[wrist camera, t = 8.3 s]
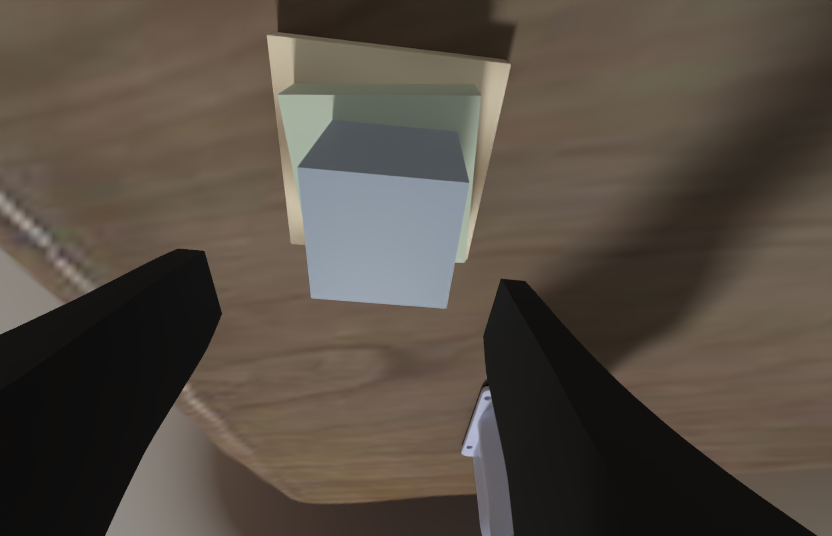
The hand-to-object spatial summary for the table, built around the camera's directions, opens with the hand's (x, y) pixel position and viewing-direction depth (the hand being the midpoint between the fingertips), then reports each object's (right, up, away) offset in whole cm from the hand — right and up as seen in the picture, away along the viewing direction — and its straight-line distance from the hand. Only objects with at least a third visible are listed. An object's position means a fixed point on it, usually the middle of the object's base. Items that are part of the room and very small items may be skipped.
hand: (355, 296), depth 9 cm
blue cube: (+1, +4, +5) cm, 7 cm away
